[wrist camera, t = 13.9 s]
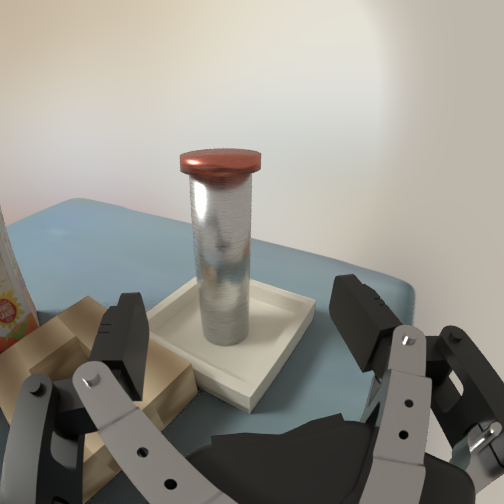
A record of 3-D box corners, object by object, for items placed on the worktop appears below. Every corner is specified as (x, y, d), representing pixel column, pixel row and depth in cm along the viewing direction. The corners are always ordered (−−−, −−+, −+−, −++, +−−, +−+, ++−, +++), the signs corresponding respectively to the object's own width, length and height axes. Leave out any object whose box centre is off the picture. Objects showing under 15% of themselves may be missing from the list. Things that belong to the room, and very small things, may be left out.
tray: (249, 414, 19) (249, 397, 18) (133, 345, 25) (126, 327, 24) (312, 318, 29) (316, 300, 28) (212, 283, 35) (210, 265, 34)
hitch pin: (234, 360, 23) (231, 163, 15) (184, 335, 25) (162, 157, 18) (265, 323, 27) (275, 152, 20) (218, 304, 30) (213, 147, 22)
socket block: (81, 505, 10) (51, 489, 8) (5, 393, 16) (-17, 366, 14) (198, 393, 21) (191, 362, 19) (99, 325, 27) (88, 295, 25)
